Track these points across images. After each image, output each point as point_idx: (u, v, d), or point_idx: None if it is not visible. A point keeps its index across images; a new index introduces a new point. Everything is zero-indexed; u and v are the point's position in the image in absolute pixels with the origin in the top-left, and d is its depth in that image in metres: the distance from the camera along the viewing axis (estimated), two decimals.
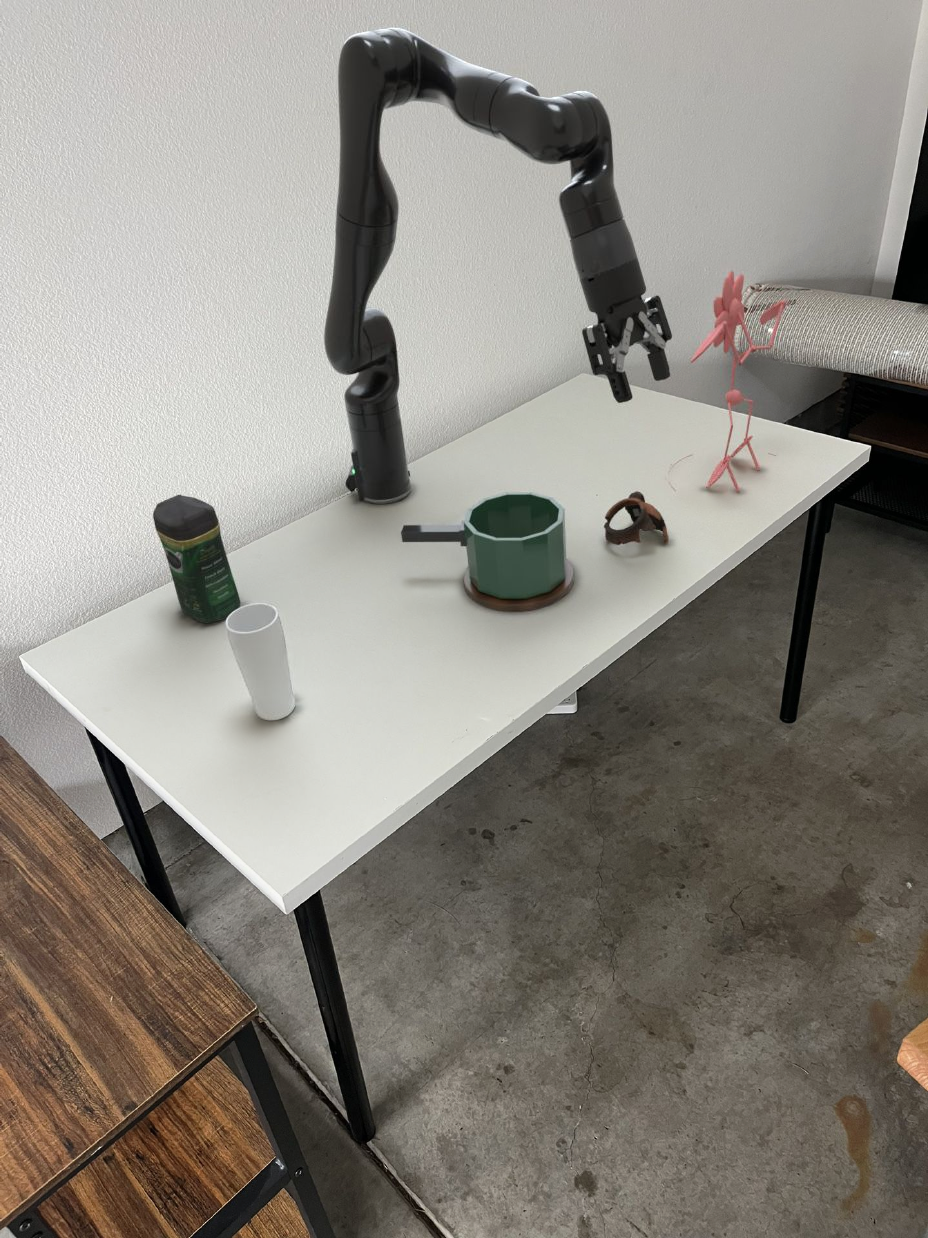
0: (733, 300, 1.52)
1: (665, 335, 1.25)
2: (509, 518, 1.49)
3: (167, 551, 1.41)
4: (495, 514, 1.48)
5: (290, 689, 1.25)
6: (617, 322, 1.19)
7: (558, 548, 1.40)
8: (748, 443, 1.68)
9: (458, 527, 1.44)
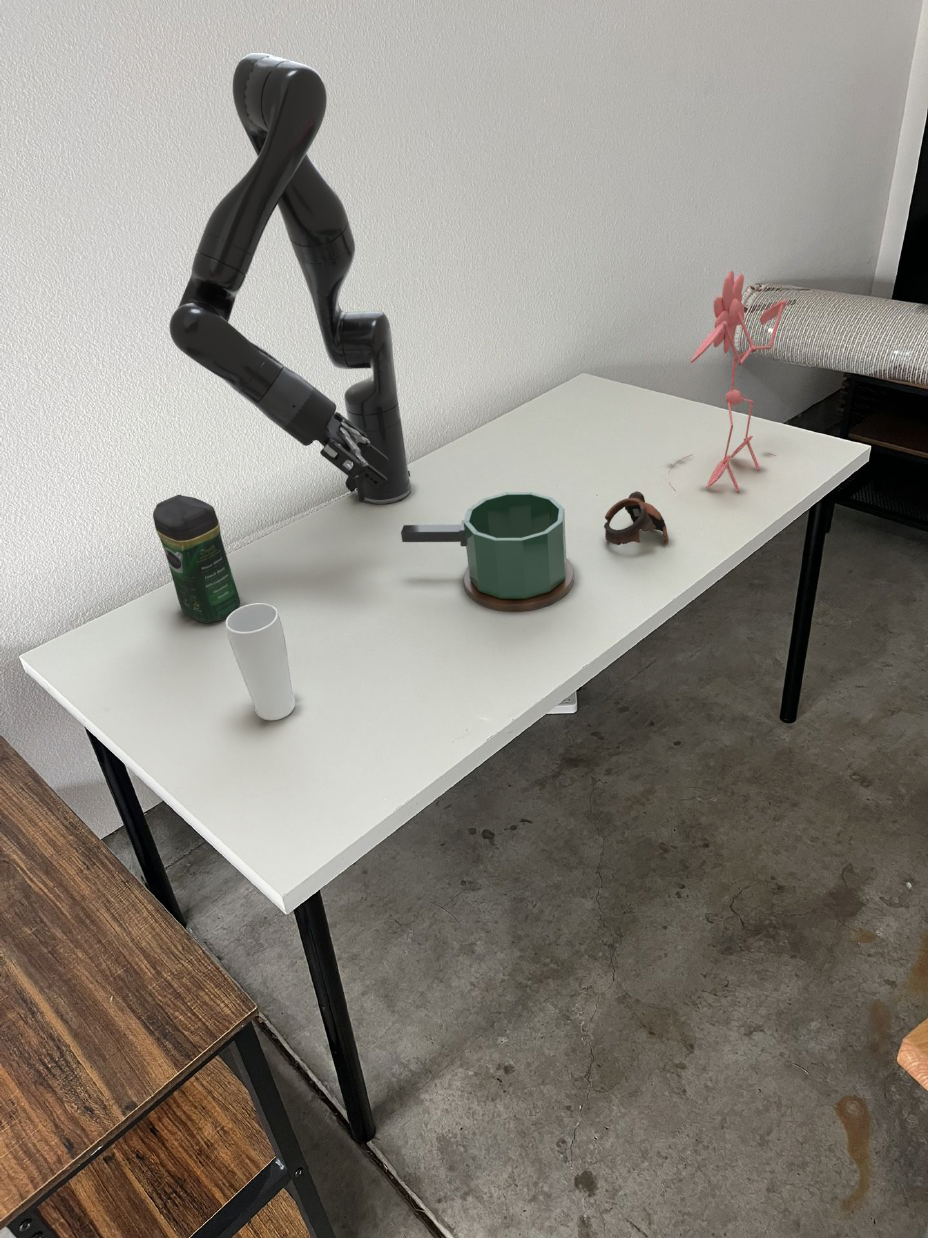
0: (733, 300, 1.52)
1: None
2: (509, 518, 1.49)
3: (167, 551, 1.41)
4: (495, 514, 1.48)
5: (290, 689, 1.25)
6: None
7: (558, 548, 1.40)
8: (748, 443, 1.68)
9: (458, 527, 1.44)
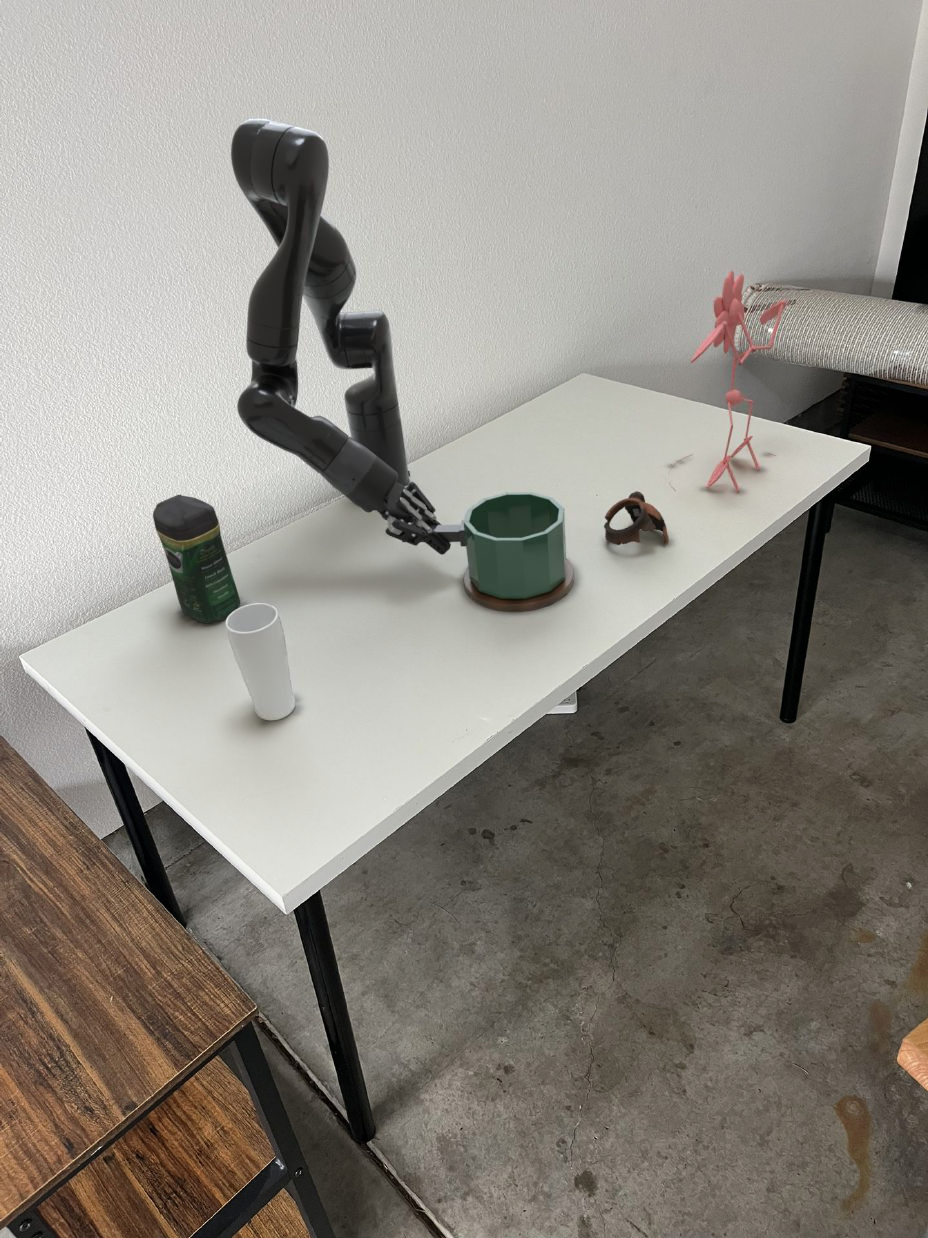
0: (733, 300, 1.52)
1: None
2: (509, 518, 1.49)
3: (167, 551, 1.41)
4: (495, 514, 1.48)
5: (290, 689, 1.25)
6: None
7: (558, 548, 1.40)
8: (748, 443, 1.68)
9: (458, 527, 1.44)
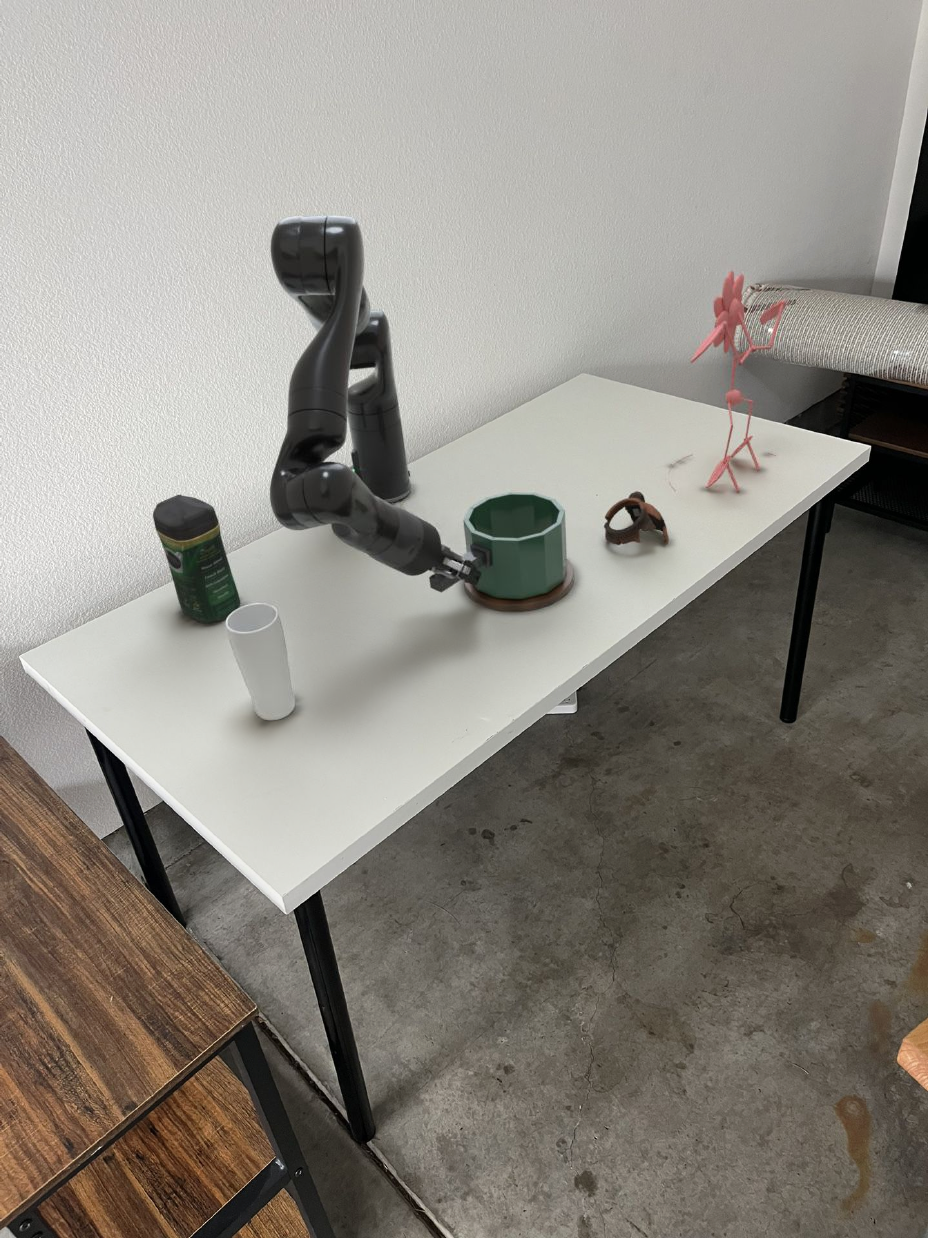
0: (733, 300, 1.52)
1: None
2: None
3: (167, 551, 1.41)
4: None
5: (290, 689, 1.25)
6: None
7: None
8: (748, 443, 1.68)
9: (475, 552, 1.38)
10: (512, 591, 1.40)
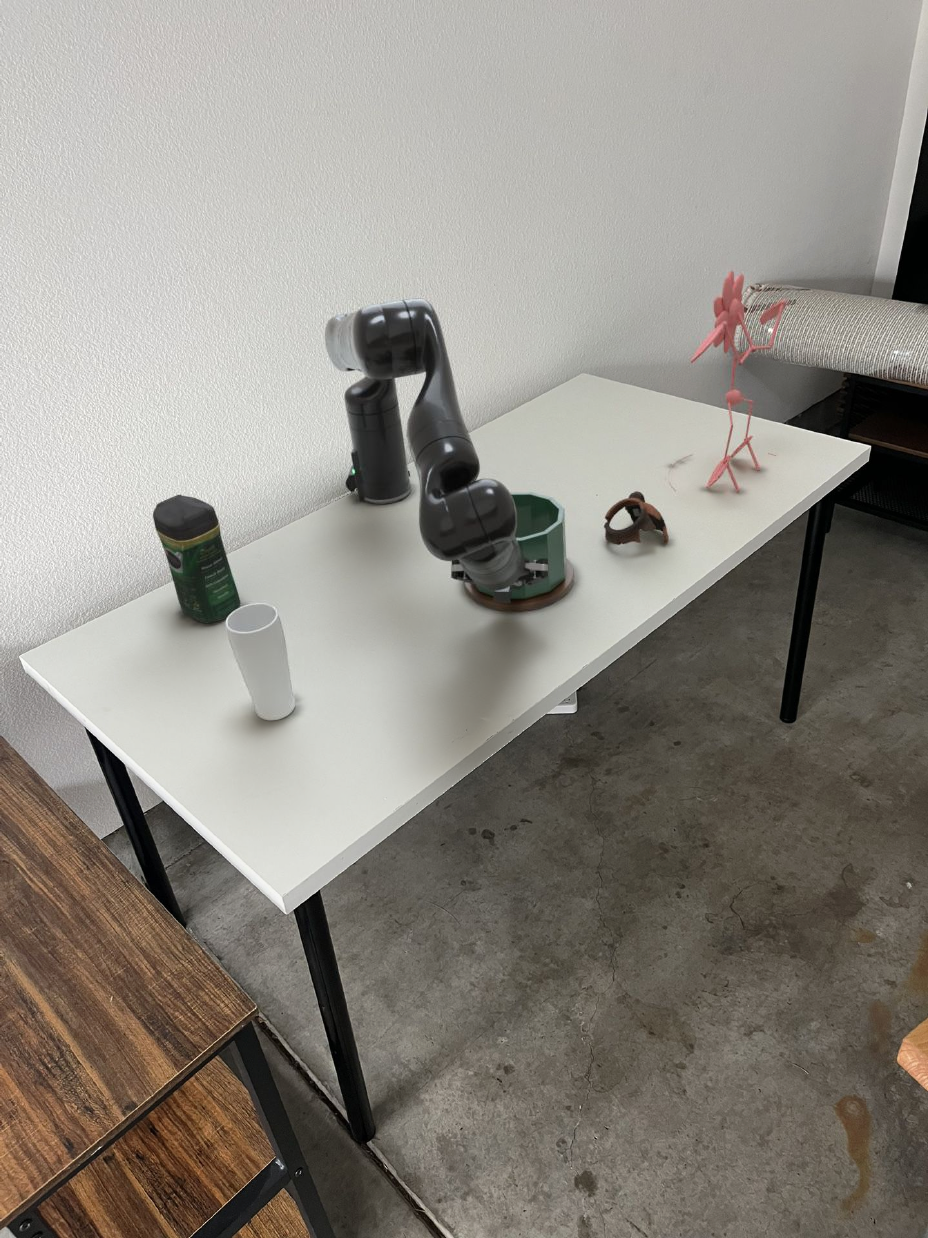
0: (733, 300, 1.52)
1: None
2: None
3: (167, 551, 1.41)
4: None
5: (290, 689, 1.25)
6: None
7: None
8: (748, 443, 1.68)
9: None
10: (541, 586, 1.41)
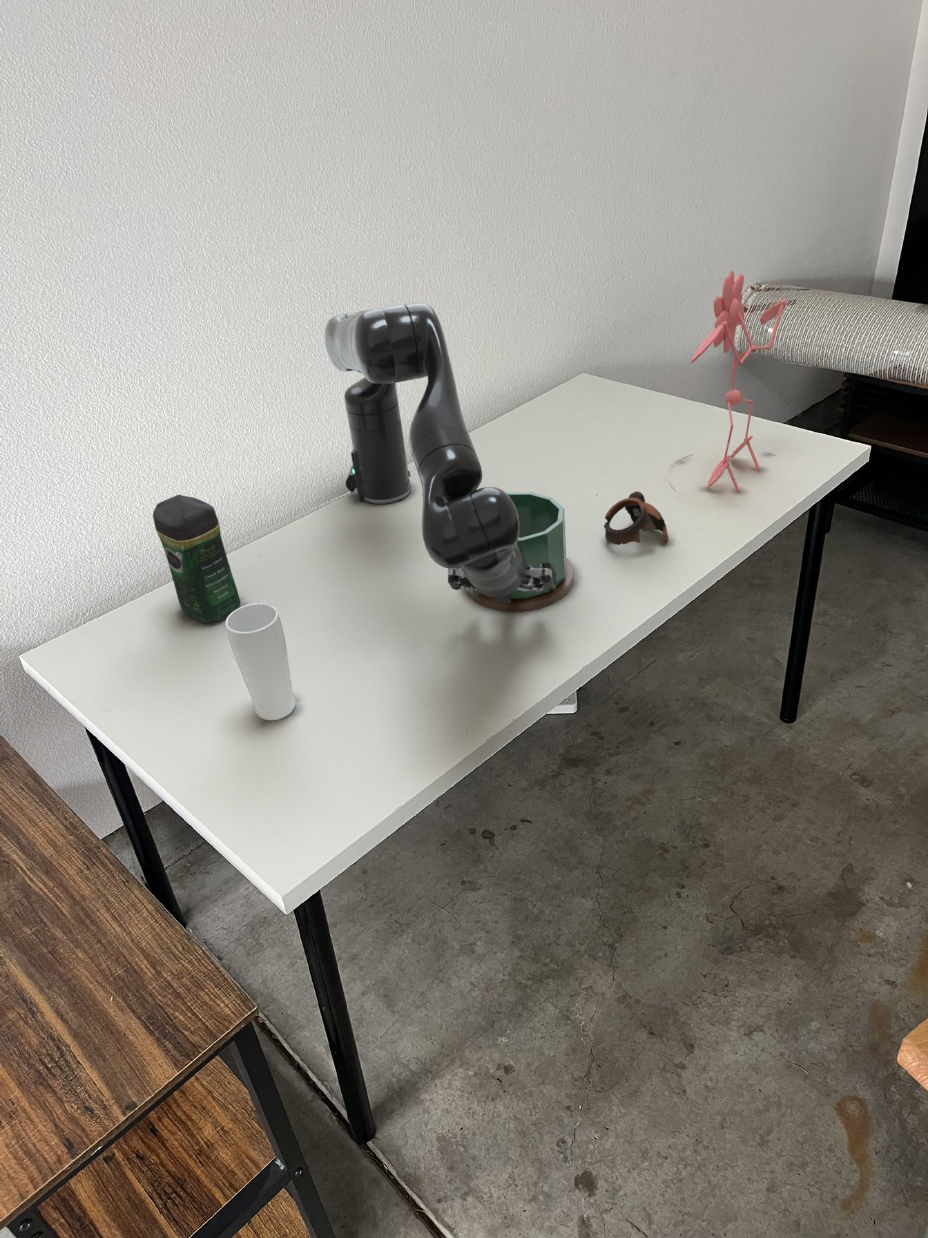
0: (733, 300, 1.52)
1: None
2: None
3: (167, 551, 1.41)
4: None
5: (290, 689, 1.25)
6: None
7: None
8: (748, 443, 1.68)
9: None
10: None
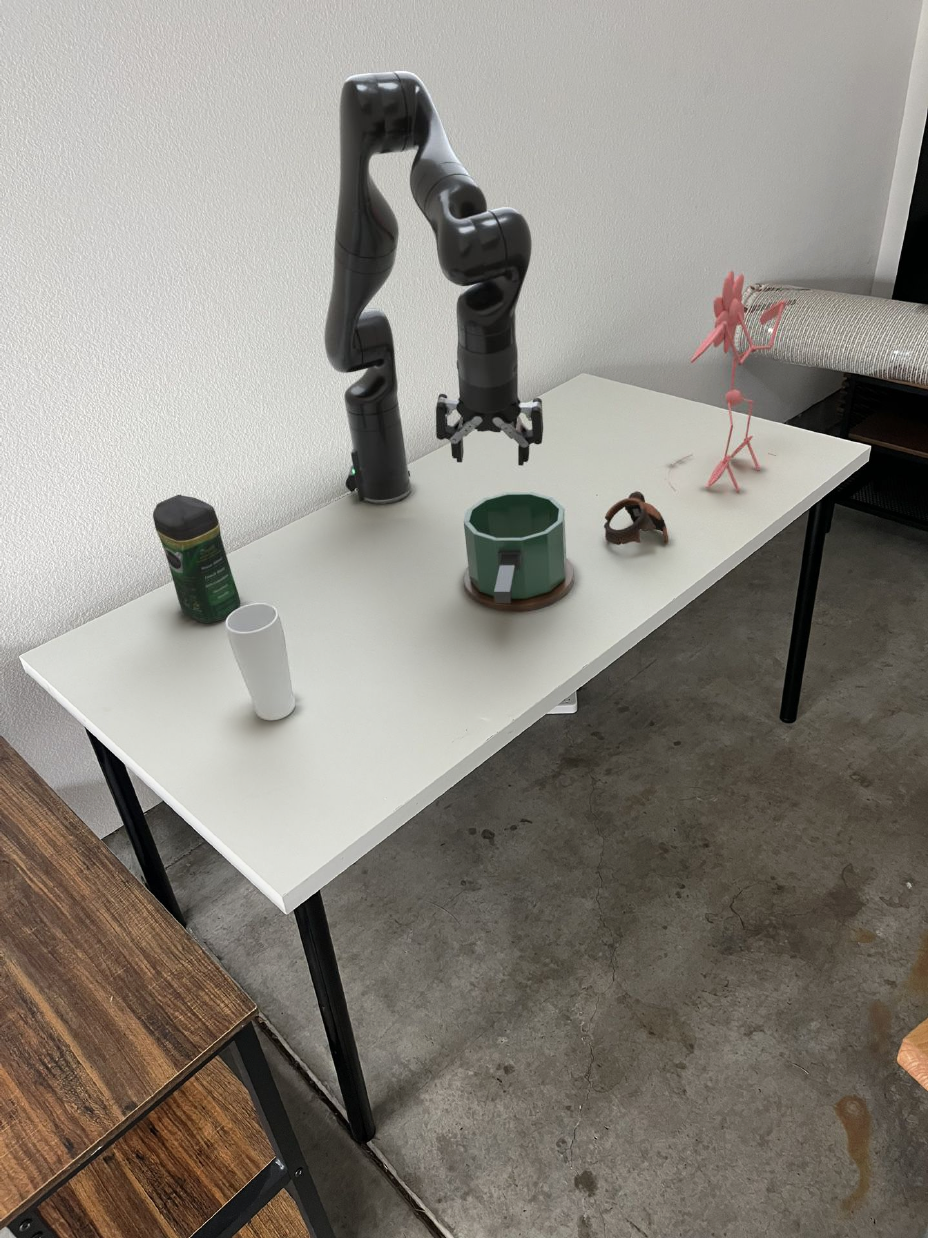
0: (733, 300, 1.52)
1: (532, 439, 1.27)
2: None
3: (167, 551, 1.41)
4: None
5: (290, 689, 1.25)
6: (467, 411, 1.25)
7: None
8: (748, 443, 1.68)
9: (507, 557, 1.35)
10: (541, 586, 1.41)
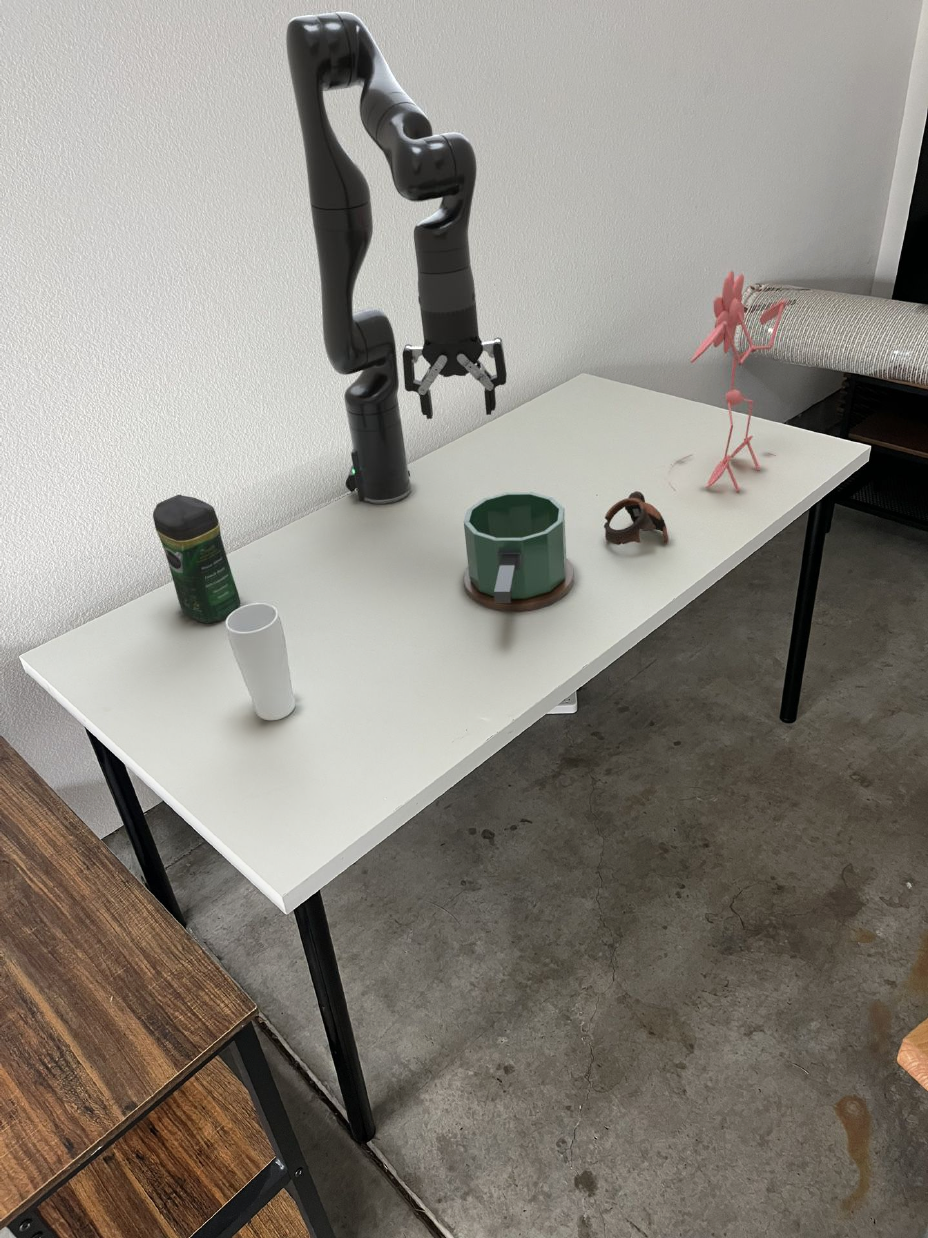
0: (733, 300, 1.52)
1: (497, 379, 1.32)
2: None
3: (167, 551, 1.41)
4: None
5: (290, 689, 1.25)
6: (432, 354, 1.31)
7: None
8: (748, 443, 1.68)
9: (507, 557, 1.35)
10: (541, 586, 1.41)
